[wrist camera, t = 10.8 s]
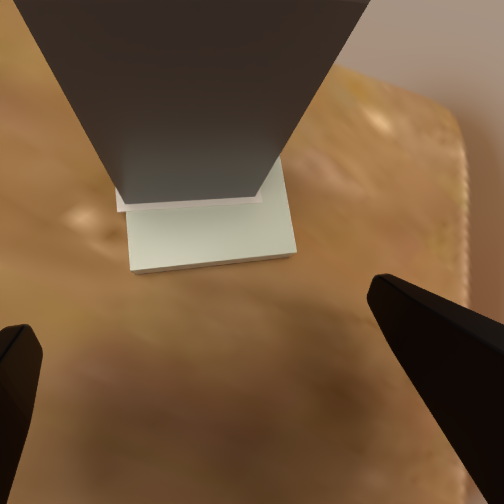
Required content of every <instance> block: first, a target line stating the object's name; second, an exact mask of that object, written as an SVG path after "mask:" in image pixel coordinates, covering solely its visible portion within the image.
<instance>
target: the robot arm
mask: <svg viewBox="0 0 504 504" xmlns="http://www.w3.org/2000/svg"><path fill="white" fill-rule="evenodd" d="M367 302H368V305H369V307H370V309H371V311H372V313H373V315H374V317H375V319H376V321H377V323H378V325H379V327H380V329H381V331H382V333H383V335H384V337H385V339H386V341H387V343H388V344H389V346H390V348H391V350H392V351H393V353H394V355H395V356H396V358H397V360H398V361H399V363H400V364H401V366H402V368H403V369H404V371H405V372H406V374H407V376H408V377H409V379H410V380H411V382H412V383H413V385H414V387H415V388H416V390H417V391H418V393H419V395H420V396H421V398H422V399H423V401H424V403H425V404H426V406H427V407H428V409H429V411H430V412H431V414H432V415H433V417H434V419H435V420H436V422H437V423H438V425H439V426H440V428H441V430H442V431H443V433H444V434H445V436H446V438H447V439H448V441H449V442H450V444H451V446H452V447H453V449H454V450H455V452H456V454H457V455H458V457H459V458H460V460H461V462H462V463H463V465H464V466H465V468H466V469H467V471H468V473H469V474H470V476H471V477H472V479H473V480H474V482H475V484H476V485H477V487H478V489H479V490H480V492H481V493H482V495H483V497H484V498H485V500H486V501H487V503H488V504H504V325H503V324H501V323H499V322H497V321H494V320H492V319H490V318H488V317H485V316H483V315H481V314H479V313H476V312H474V311H472V310H470V309H467V308H465V307H463V306H461V305H458V304H456V303H454V302H452V301H449V300H447V299H445V298H443V297H440V296H438V295H436V294H434V293H431V292H429V291H427V290H425V289H422V288H420V287H418V286H416V285H414V284H411V283H409V282H407V281H405V280H402V279H400V278H398V277H396V276H393V275H391V274H379V275H375V276H374V277H373V279H372V282H371V285H370V288H369V291H368V293H367ZM42 358H43V351H42V347H41V345H40V343H39V341H38V339H37V337H36V335H35V333H34V331H33V330H32V328H31V326H29V325H28V324H21V325H14V326H8V327H5V328H4V329H2V330H1V331H0V504H7V500H8V497H9V494H10V490H11V487H12V484H13V480H14V477H15V474H16V471H17V467H18V464H19V461H20V457H21V454H22V451H23V447H24V444H25V441H26V437H27V434H28V430H29V427H30V423H31V418H32V413H33V408H34V402H35V397H36V391H37V386H38V380H39V375H40V369H41V363H42Z"/></svg>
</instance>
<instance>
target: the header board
mask: <svg viewBox="0 0 504 504" xmlns="http://www.w3.org/2000/svg"><path fill="white" fill-rule="evenodd" d="M116 202H117V212H126V220H127V233H128V246H129V260H130V271H131V272H133V273H134V274H135V275H136V274H144V273H153V272H162V271H171V270H180V269H188V268H197V267H206V266H215V265H224V264H232V263H241V262H250V261H259V260H268V259H276V258H285V257H289V256H291V255H293V254H295V253H297V250H296V244H295V239H294V233H293V227H292V222H291V216H290V210H289V205H288V199H287V194H286V188H285V182H284V177H283V171H282V165H281V160H280V155H279V157H278V158H277V160H276V162H275V163H274V165H273V167H272V168H271V170H270V172H269V174H268V175H267V177H266V179H265V180H264V182H263V184H262V185H261V187H260V189H259V191H258V192H257V194H256V196H255V197H240V198H224V199H207V200H191V201H174V202H157V203H141V204H125V203H124V202H123V200H122V198H121V196H120V194H119V192H118V191H117V189H116Z"/></svg>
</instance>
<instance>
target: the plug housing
mask: <svg viewBox="0 0 504 504" xmlns="http://www.w3.org/2000/svg"><path fill="white" fill-rule="evenodd" d="M13 1H14V3H15V4H16V6H17V8H18V10H19V12H20V14H21V15H22V17H23V19H24V21H25V23H26V25H27V26H28V28H29V30H30V32H31V34H32V35H33V37H34V39H35V41H36V43H37V45H38V46H39V48H40V50H41V52H42V54H43V56H44V57H45V59H46V61H47V63H48V65H49V67H50V68H51V70H52V72H53V74H54V76H55V77H56V79H57V81H58V83H59V85H60V87H61V88H62V90H63V92H64V94H65V96H66V98H67V99H68V101H69V103H70V105H71V107H72V108H73V110H74V112H75V114H76V116H77V118H78V119H79V121H80V123H81V125H82V127H83V129H84V130H85V132H86V134H87V136H88V138H89V139H90V141H91V143H92V145H93V147H94V149H95V150H96V152H97V154H98V156H99V158H100V160H101V161H102V163H103V165H104V167H105V169H106V170H107V172H108V174H109V176H110V178H111V180H112V181H113V183H114V185H115V187H116V189H117V191H118V192H119V194H120V196H121V198H122V200H123V202H124V203H125V204H141V203H157V202H174V201H191V200H207V199H224V198H240V197H255V196H256V194H257V192H258V191H259V189H260V187H261V185H262V184H263V182H264V180H265V179H266V177H267V175H268V174H269V172H270V170H271V168H272V167H273V165H274V163H275V162H276V160H277V158H278V157H279V155H280V153H281V151H282V150H283V148H284V146H285V145H286V143H287V141H288V140H289V138H290V136H291V134H292V133H293V131H294V129H295V128H296V126H297V124H298V123H299V121H300V119H301V117H302V116H303V114H304V112H305V111H306V109H307V107H308V106H309V104H310V102H311V100H312V99H313V97H314V95H315V94H316V92H317V90H318V89H319V87H320V85H321V83H322V82H323V80H324V78H325V77H326V75H327V73H328V72H329V70H330V68H331V66H332V65H333V63H334V61H335V60H336V58H337V56H338V55H339V53H340V51H341V49H342V48H343V46H344V44H345V43H346V41H347V39H348V38H349V36H350V34H351V32H352V31H353V29H354V27H355V26H356V24H357V22H358V20H359V19H360V17H361V15H362V13H363V12H364V10H365V9H366V7H367V5H368V3H369V2H370V0H13Z"/></svg>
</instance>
